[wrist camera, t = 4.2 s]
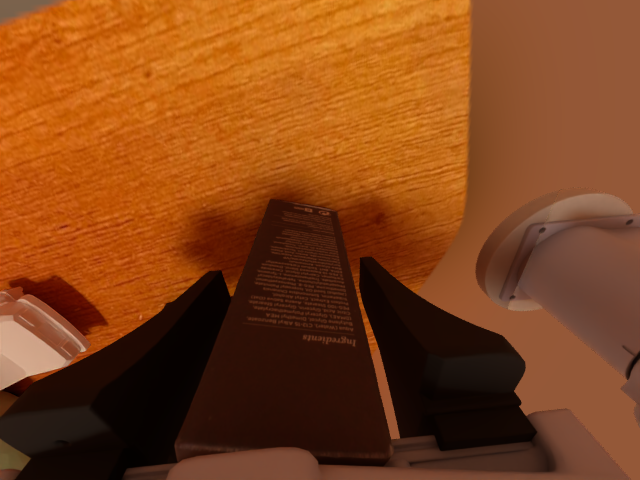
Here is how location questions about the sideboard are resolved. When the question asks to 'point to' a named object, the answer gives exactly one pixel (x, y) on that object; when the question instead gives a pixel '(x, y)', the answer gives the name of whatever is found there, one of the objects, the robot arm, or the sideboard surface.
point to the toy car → (33, 337)
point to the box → (292, 353)
